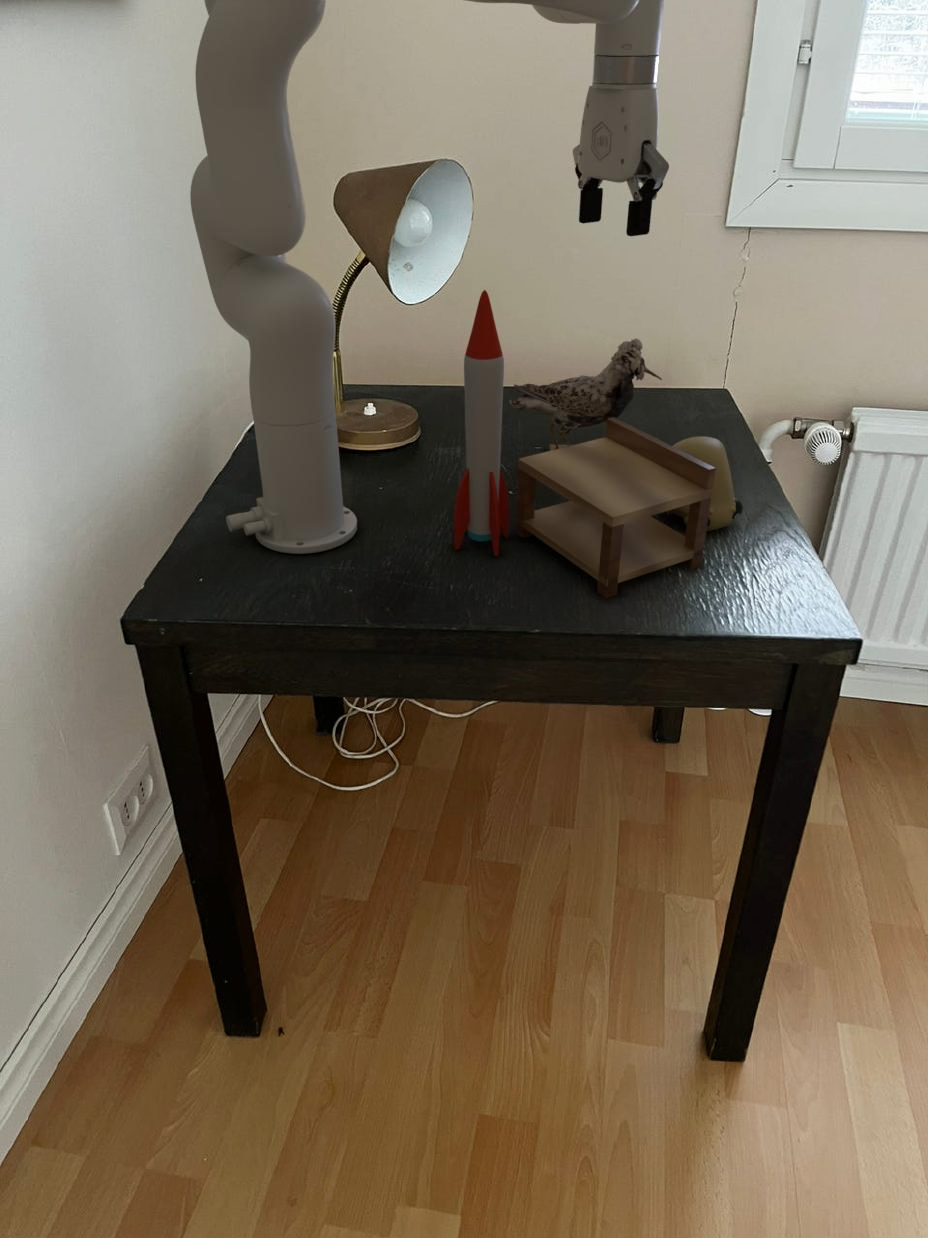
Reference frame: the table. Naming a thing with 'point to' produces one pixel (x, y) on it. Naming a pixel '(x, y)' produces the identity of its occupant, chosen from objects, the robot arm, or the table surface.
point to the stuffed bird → (587, 393)
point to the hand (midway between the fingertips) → (613, 228)
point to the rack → (617, 504)
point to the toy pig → (722, 498)
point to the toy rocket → (483, 436)
